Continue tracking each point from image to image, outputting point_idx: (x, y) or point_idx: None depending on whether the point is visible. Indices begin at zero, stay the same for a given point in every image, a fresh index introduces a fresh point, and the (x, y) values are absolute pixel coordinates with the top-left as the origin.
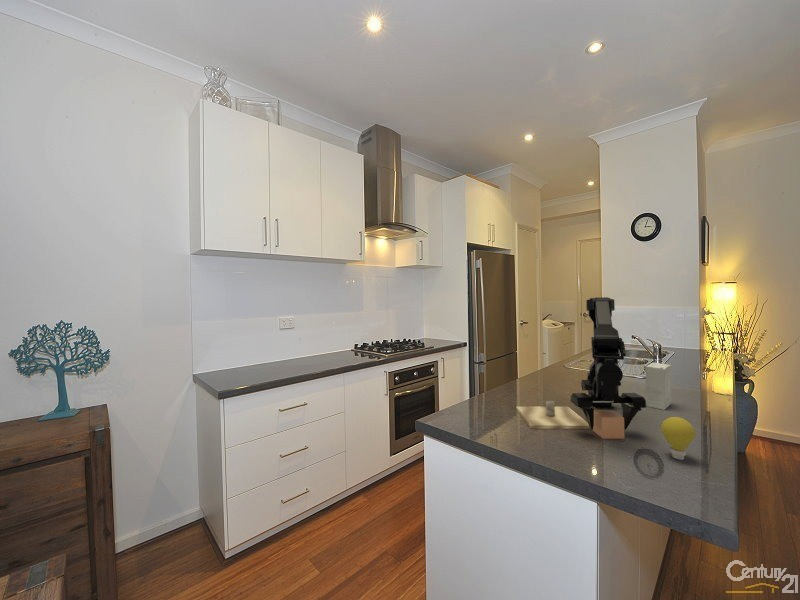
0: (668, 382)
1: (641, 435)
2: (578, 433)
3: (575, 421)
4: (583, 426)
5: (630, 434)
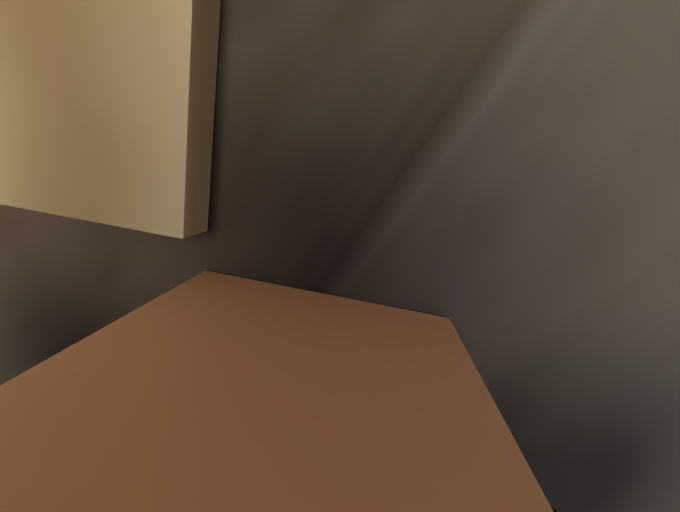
0: None
1: (649, 487)
2: (24, 317)
3: (24, 27)
4: (93, 217)
5: (551, 444)
